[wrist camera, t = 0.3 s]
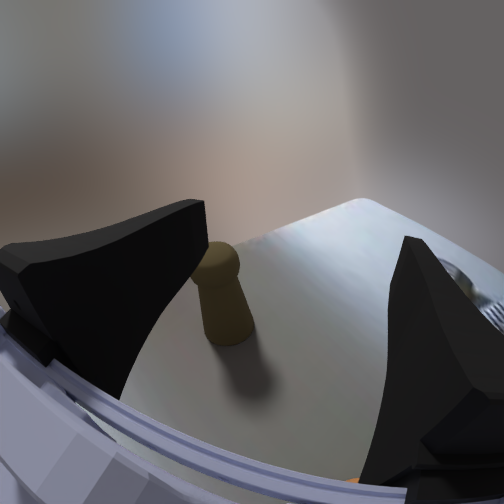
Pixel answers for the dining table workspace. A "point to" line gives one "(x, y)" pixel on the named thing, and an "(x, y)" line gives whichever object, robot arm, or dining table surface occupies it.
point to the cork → (222, 296)
